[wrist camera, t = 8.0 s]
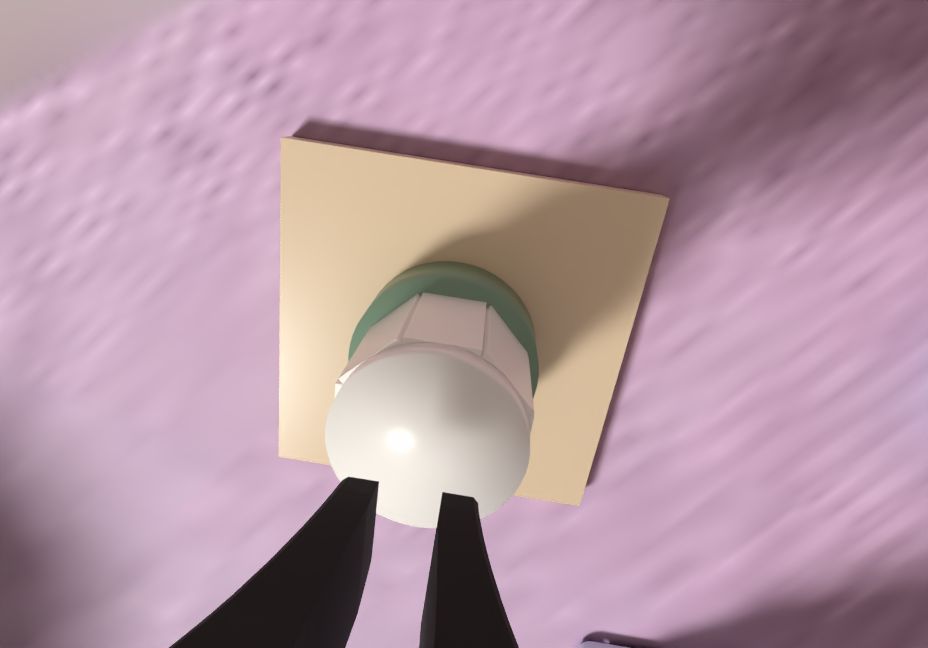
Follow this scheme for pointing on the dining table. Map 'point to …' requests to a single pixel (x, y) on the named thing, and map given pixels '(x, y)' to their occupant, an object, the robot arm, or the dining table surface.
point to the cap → (434, 409)
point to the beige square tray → (460, 283)
